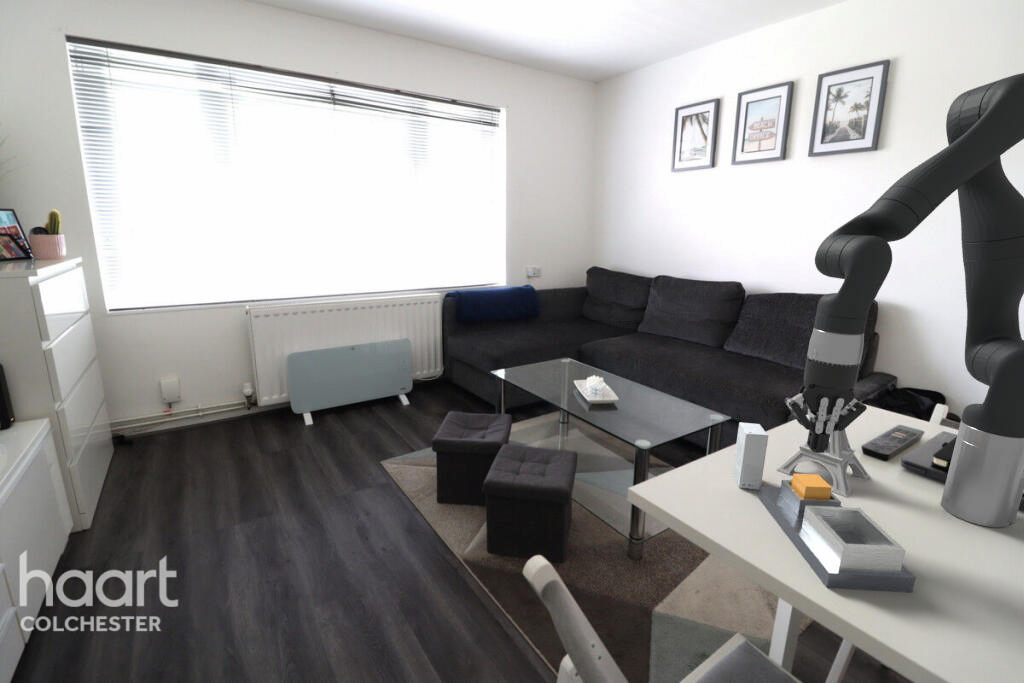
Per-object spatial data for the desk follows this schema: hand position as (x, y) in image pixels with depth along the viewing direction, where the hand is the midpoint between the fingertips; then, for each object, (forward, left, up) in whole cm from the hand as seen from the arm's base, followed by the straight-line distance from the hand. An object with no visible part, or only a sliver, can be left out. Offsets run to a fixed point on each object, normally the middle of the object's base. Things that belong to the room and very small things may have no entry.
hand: (816, 450), depth 85 cm
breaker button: (0, 0, -9) cm, 9 cm away
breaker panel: (0, +6, -13) cm, 15 cm away
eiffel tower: (-12, -17, -14) cm, 25 cm away
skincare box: (+6, -12, -14) cm, 19 cm away
